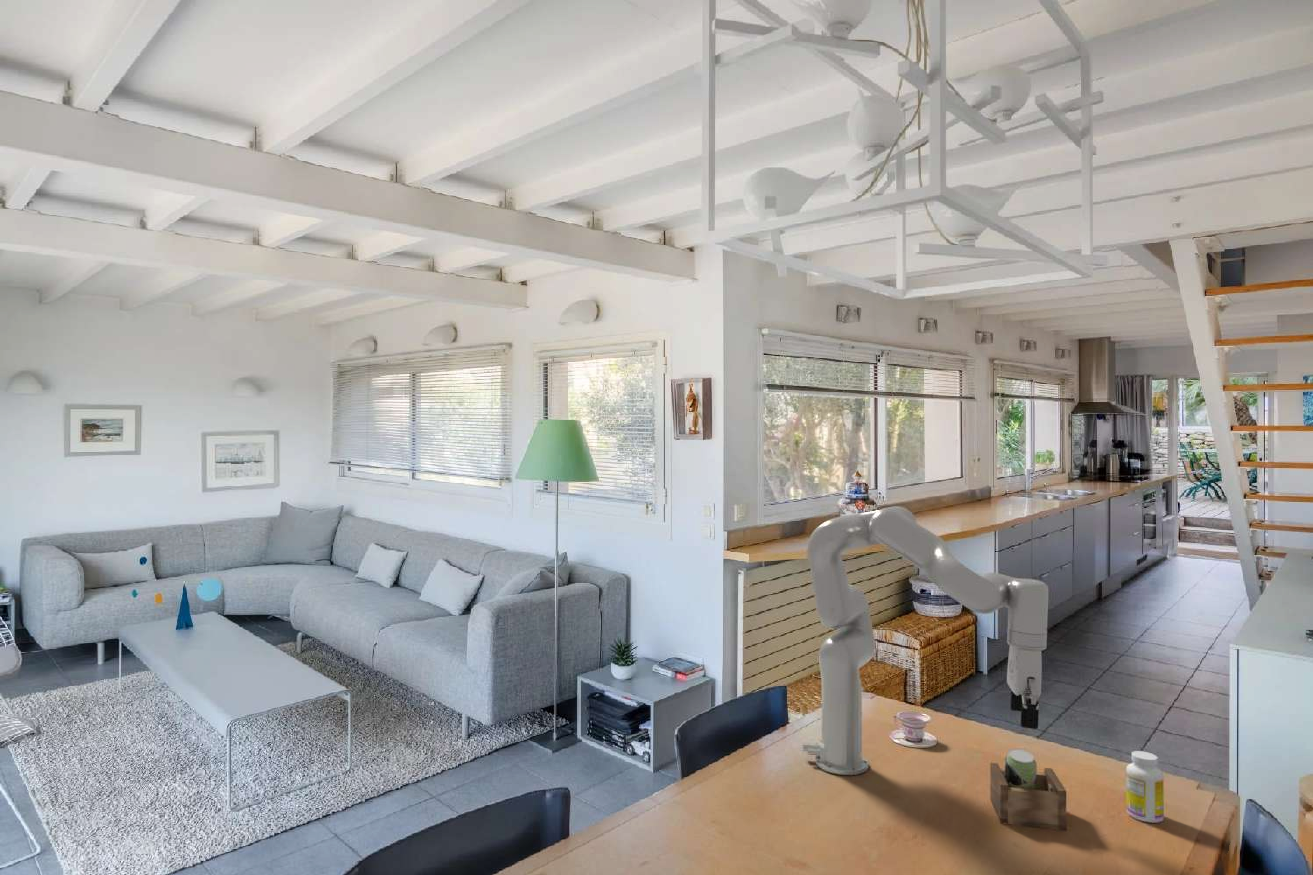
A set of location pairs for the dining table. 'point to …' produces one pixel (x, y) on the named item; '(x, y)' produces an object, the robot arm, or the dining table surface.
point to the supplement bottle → (1144, 788)
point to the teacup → (913, 730)
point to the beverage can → (1020, 769)
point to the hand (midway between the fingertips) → (1023, 718)
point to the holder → (1029, 800)
